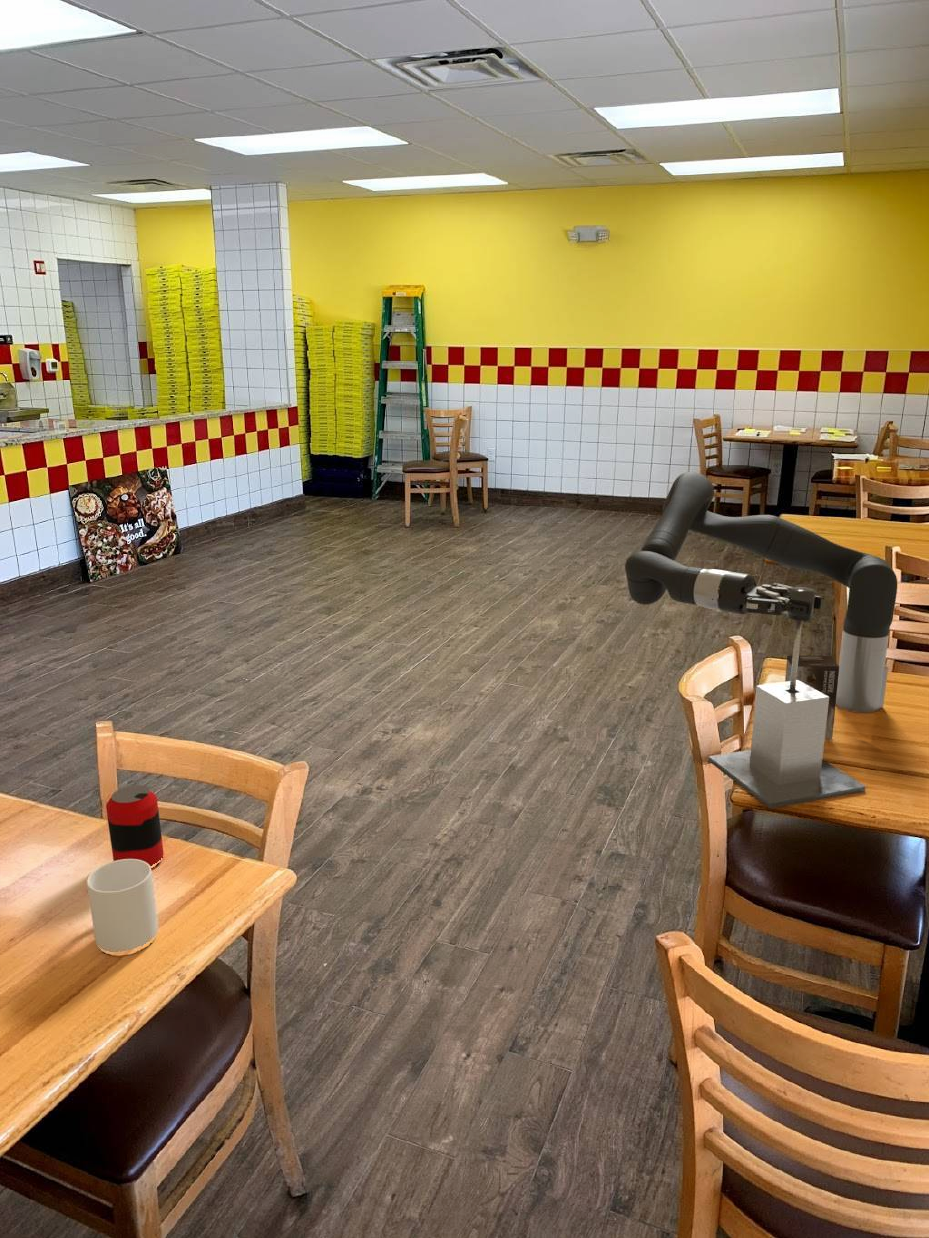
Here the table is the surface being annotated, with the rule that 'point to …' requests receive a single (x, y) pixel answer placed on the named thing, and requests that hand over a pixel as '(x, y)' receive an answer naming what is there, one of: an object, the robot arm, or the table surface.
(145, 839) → the soda can
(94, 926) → the cup
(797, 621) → the plunger
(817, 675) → the coffee box
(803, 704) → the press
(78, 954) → the table surface
